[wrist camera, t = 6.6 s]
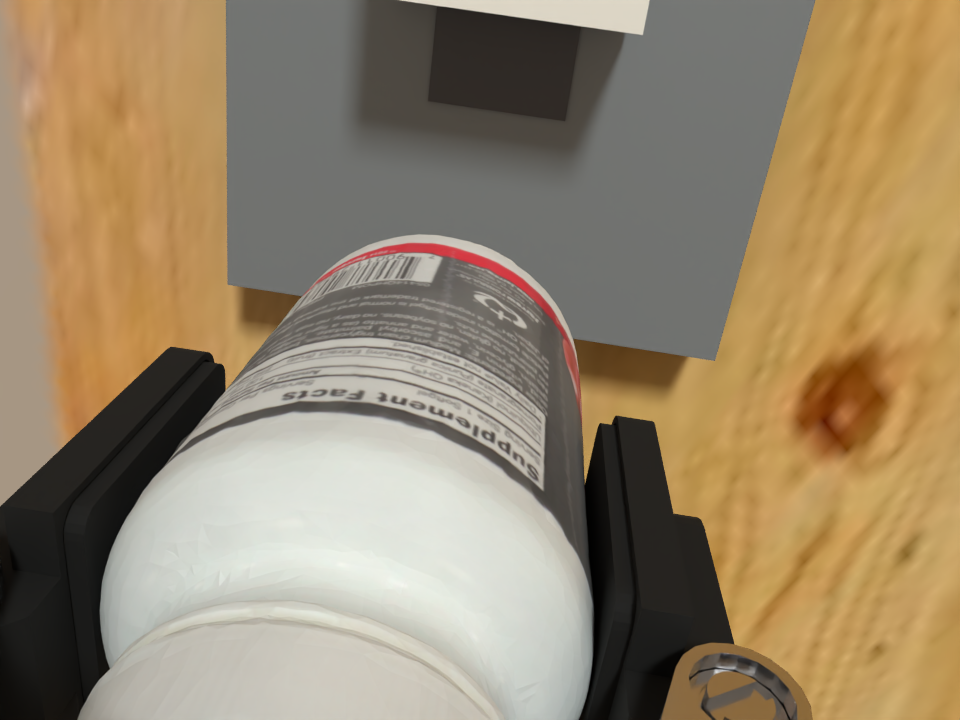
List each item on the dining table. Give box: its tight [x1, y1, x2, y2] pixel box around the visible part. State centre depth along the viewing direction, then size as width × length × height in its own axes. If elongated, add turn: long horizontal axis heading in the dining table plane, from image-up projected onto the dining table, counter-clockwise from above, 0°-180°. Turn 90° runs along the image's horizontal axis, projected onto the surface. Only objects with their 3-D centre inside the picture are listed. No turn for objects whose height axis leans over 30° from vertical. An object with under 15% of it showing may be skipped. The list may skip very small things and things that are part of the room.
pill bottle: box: [77, 234, 596, 720], centre depth 10 cm, size 5×5×10 cm
